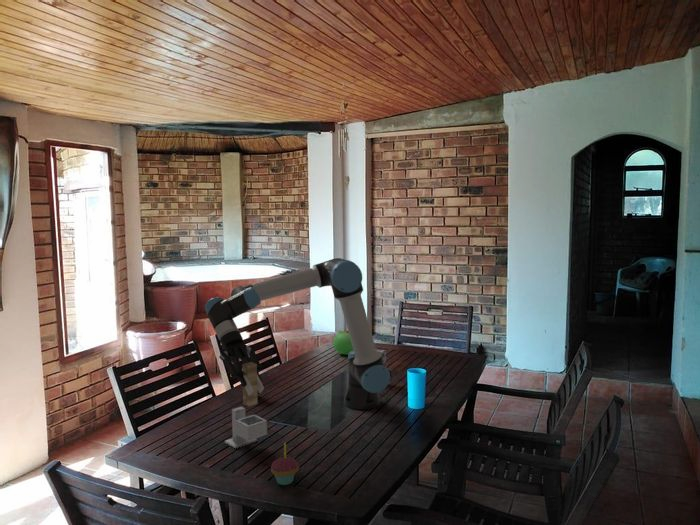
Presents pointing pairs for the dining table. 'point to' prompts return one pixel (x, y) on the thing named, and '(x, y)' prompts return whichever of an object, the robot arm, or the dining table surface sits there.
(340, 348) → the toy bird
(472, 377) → the dining table surface
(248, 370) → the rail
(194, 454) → the dining table surface
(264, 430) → the bracket
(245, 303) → the robot arm
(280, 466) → the cupcake
